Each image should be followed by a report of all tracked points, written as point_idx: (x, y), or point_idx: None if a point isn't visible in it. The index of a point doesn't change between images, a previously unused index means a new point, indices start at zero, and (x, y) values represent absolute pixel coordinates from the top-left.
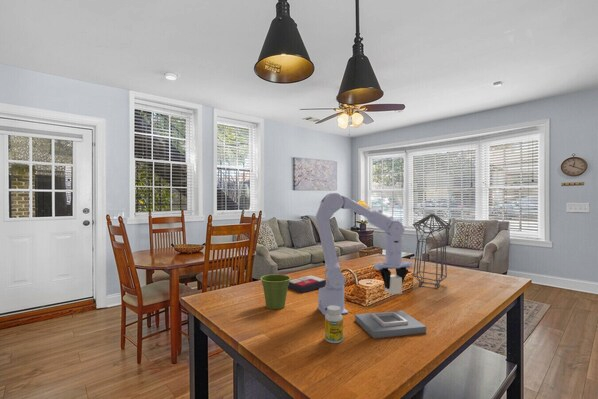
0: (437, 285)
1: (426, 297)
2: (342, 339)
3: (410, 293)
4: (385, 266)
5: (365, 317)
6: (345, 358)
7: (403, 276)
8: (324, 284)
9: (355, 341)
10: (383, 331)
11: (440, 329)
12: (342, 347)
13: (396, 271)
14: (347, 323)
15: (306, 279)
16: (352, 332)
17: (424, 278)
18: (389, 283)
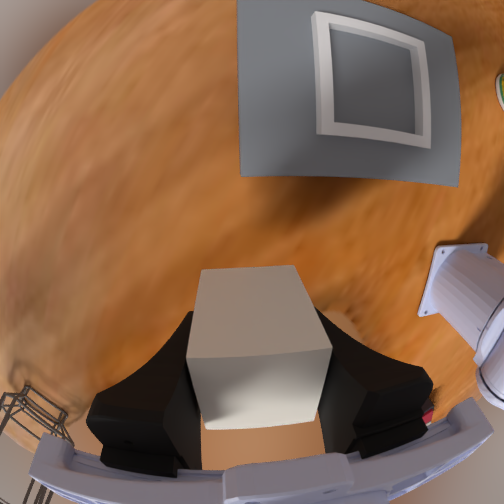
0: (22, 391)
1: (55, 346)
2: (498, 76)
3: (99, 386)
4: (437, 446)
5: (443, 145)
6: (492, 22)
7: (159, 371)
8: None
9: (476, 57)
10: (424, 24)
11: (152, 18)
12: (496, 55)
13: (199, 450)
14: (467, 166)
15: None
16: (473, 103)
17: (45, 421)
18: None
